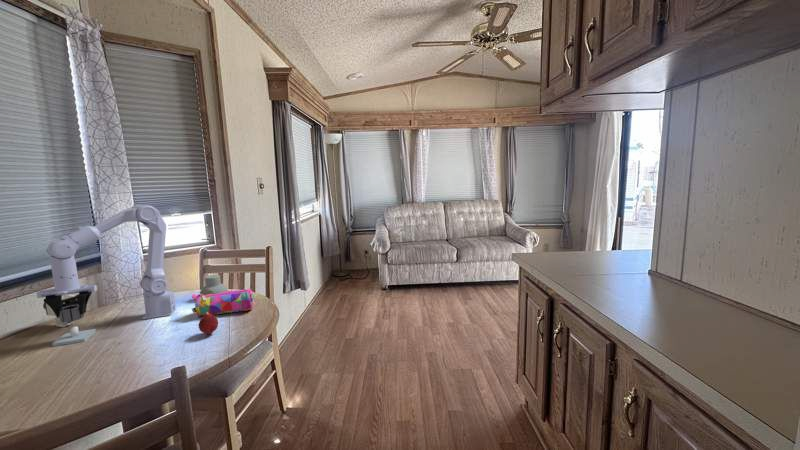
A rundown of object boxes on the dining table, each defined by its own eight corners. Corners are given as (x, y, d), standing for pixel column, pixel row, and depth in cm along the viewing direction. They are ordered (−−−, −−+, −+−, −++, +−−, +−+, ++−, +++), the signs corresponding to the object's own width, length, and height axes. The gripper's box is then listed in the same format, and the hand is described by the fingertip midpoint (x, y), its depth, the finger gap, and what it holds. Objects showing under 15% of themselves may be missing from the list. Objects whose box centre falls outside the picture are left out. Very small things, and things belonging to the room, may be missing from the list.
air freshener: (231, 294, 152) (229, 274, 150) (218, 301, 144) (216, 279, 142) (211, 293, 154) (209, 273, 153) (197, 299, 146) (195, 278, 144)
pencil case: (191, 321, 123) (188, 298, 122) (197, 312, 132) (195, 290, 131) (253, 313, 130) (251, 291, 129) (255, 305, 139) (254, 284, 138)
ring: (86, 314, 113) (84, 303, 112) (78, 320, 108) (76, 309, 107) (66, 317, 111) (64, 306, 110) (57, 323, 106) (55, 311, 105)
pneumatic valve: (69, 329, 117) (64, 297, 116) (45, 326, 120) (40, 295, 118) (86, 323, 123) (82, 292, 121) (64, 320, 125) (59, 290, 124)
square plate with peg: (95, 331, 115) (94, 320, 115) (84, 341, 108) (83, 330, 108) (66, 335, 112) (64, 325, 112) (52, 346, 105) (50, 334, 105)
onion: (222, 332, 113) (220, 310, 112) (207, 339, 108) (204, 316, 107) (211, 329, 116) (209, 308, 115) (196, 336, 111) (193, 314, 109)
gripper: (27, 282, 101) (34, 323, 103) (87, 276, 106) (93, 315, 108) (41, 276, 107) (48, 315, 109) (97, 270, 113) (103, 308, 115)
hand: (71, 314), depth 109 cm, fingers closed on ring, 5 cm apart
